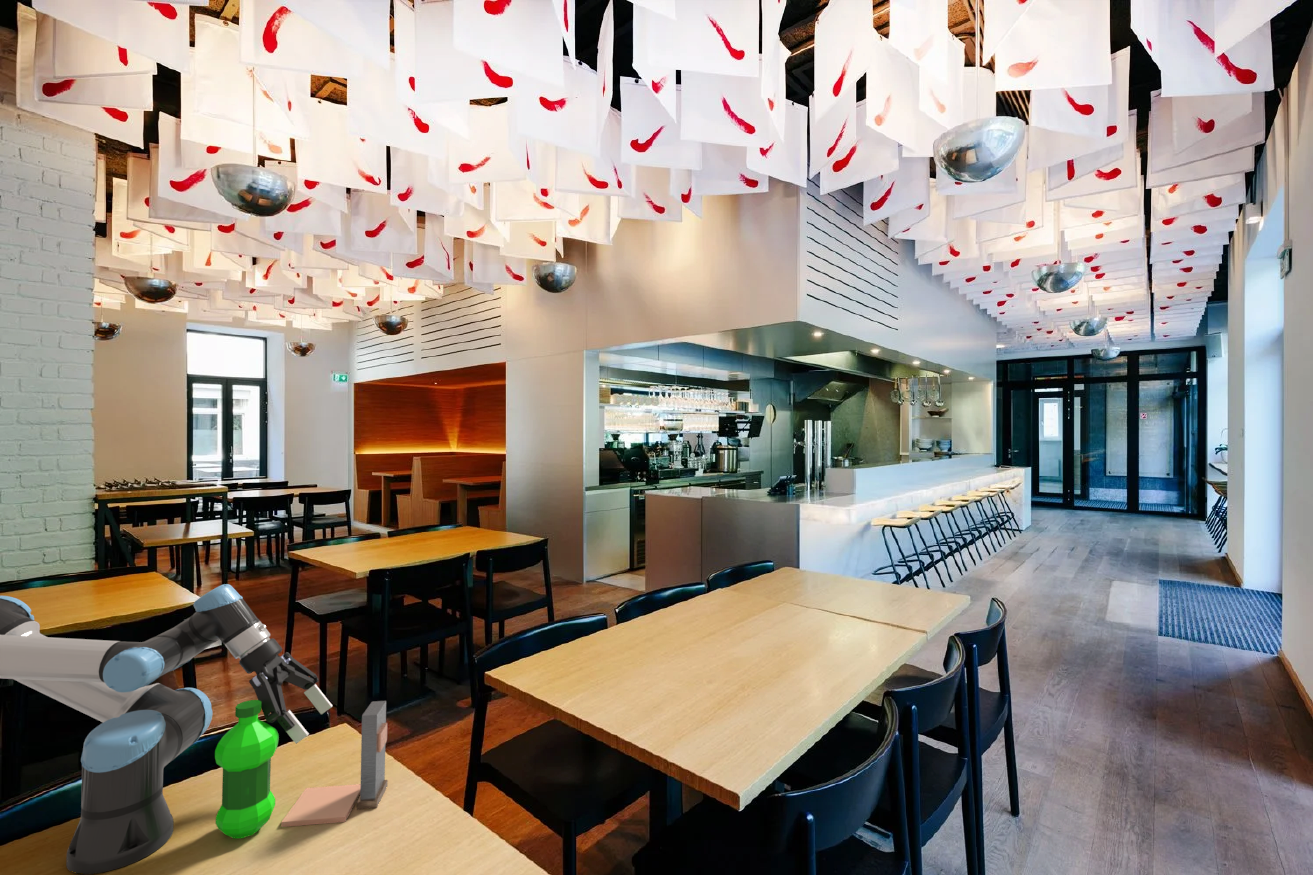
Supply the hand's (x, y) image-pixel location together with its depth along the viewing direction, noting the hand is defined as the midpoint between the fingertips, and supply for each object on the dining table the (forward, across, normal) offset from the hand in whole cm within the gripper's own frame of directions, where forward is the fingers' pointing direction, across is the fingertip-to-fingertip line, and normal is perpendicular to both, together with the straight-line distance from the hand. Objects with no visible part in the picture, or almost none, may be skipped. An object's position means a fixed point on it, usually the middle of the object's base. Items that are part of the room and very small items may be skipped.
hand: (315, 723), depth 132 cm
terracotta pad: (+15, -5, +6) cm, 17 cm away
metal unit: (+20, -3, -2) cm, 20 cm away
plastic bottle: (+8, -11, +16) cm, 21 cm away
